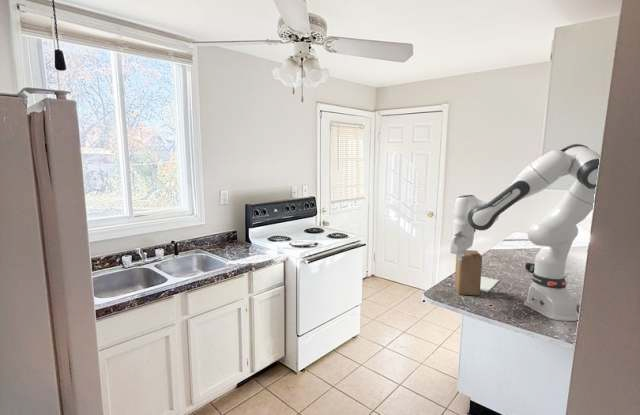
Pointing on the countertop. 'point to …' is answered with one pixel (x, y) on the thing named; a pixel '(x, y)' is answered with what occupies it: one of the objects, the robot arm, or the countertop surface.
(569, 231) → the robot arm
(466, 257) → the wooden block
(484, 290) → the mat
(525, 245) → the countertop surface
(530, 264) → the can opener
